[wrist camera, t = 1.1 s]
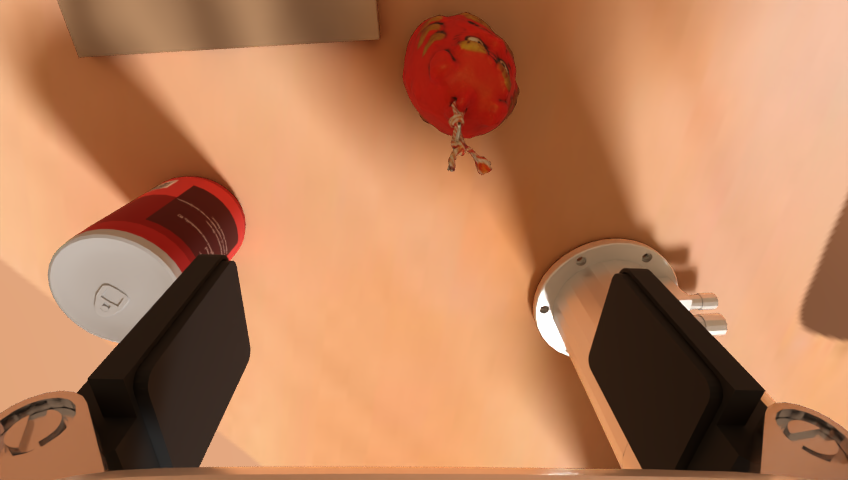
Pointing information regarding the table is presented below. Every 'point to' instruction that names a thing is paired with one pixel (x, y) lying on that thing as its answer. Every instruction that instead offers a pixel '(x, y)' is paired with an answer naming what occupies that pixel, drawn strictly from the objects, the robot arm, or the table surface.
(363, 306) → the table surface
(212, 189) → the canned food
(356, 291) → the table surface
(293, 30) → the shelf board
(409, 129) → the table surface
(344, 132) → the table surface
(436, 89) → the red clay folk toy
